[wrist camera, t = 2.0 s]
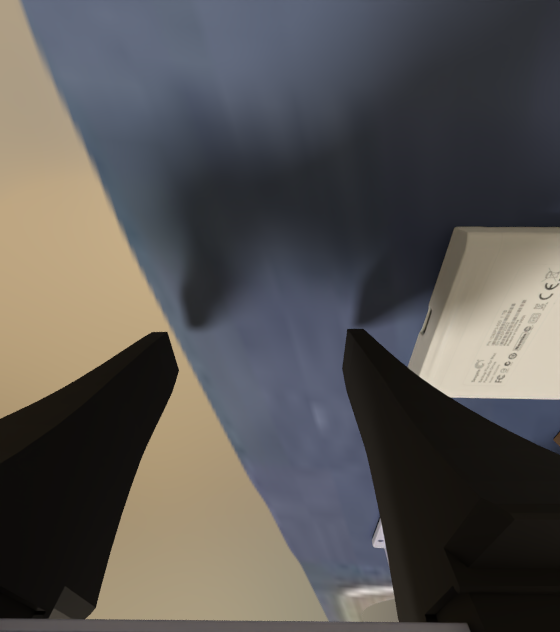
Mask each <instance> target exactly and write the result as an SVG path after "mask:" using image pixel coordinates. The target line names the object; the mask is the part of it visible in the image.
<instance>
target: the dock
mask: <svg viewBox="0 0 560 632" xmlns="http://www.w3.org/2000/svg"><path fill="white" fill-rule="evenodd" d="M554 441H555V442H556V443H557V444H558V445H559V446H560V432H559V433H558V435H557V436H556V437H555V438H554Z"/></svg>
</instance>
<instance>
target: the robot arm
mask: <svg viewBox="0 0 560 632" xmlns="http://www.w3.org/2000/svg"><path fill="white" fill-rule="evenodd" d="M342 369H343V374H344V380H345V385H346V390H347V394H348V397H349V400H350V403H351V406H352V409H353V412H354V415H355V418H356V421H357V424H358V428H359V431H360V434H361V437H362V440H363V443H364V446H365V450H366V453H367V457H368V462H369V466H370V471H371V475H372V480H373V484H374V489H375V494H376V499H377V503H378V508H379V513H380V520H379V523H378V526H377V528H376V531H375V534H374V537H373V539H372V544H373V546H374V547H376V548H385V552H386V556H387V560H388V564H389V568H390V573H391V578H392V584H393V590H394V596H395V602H396V608H397V614H398V620H399V622H314V621H311V622H310V621H208V620H206V621H205V620H105V619H86V618H87V617H88V616H89V615H90V614H91V613H92V612H93V610H94V609H95V608H96V604H97V600H98V597H99V593H100V589H101V584H102V581H103V578H104V574H105V570H106V567H107V563H108V559H109V555H110V552H111V548H112V545H113V542H114V539H115V535H116V532H117V529H118V525H119V522H120V519H121V515H122V512H123V509H124V506H125V503H126V500H127V497H128V494H129V491H130V488H131V486H132V483H133V480H134V477H135V474H136V472H137V469H138V466H139V463H140V460H141V458H142V455H143V453H144V451H145V449H146V446H147V444H148V442H149V440H150V438H151V436H152V434H153V432H154V429H155V427H156V425H157V423H158V421H159V419H160V417H161V415H162V413H163V411H164V409H165V406H166V404H167V402H168V400H169V398H170V396H171V394H172V391H173V388H174V385H175V382H176V379H177V375H178V371H179V369H178V366H177V363H176V359H175V356H174V353H173V350H172V346H171V343H170V339H169V336H168V333H167V332H152V333H150V334H148V335H147V336H145V337H143V338H142V339H140V340H139V341H137V342H135V343H134V344H133V345H131V346H129V347H128V348H126V349H125V350H123V351H122V352H120V353H119V354H117V355H116V356H114V357H113V358H111V359H110V360H108V361H106V362H105V363H103V364H102V365H101V366H99V367H97V368H95V369H94V370H92V371H90V372H89V373H87V374H86V375H84V376H82V377H81V378H79V379H77V380H76V381H74V382H72V383H71V384H69V385H67V386H65V387H63V388H62V389H60V390H58V391H56V392H54V393H53V394H50V395H49V396H47V397H45V398H43V399H41V400H39V401H37V402H35V403H33V404H31V405H29V406H27V407H25V408H22V409H20V410H19V411H16V412H14V413H12V414H10V415H7V416H5V417H3V418H1V419H0V632H560V455H559V454H556V453H554V452H552V451H550V450H547V449H545V448H543V447H541V446H539V445H537V444H535V443H532V442H530V441H528V440H526V439H524V438H522V437H520V436H518V435H516V434H514V433H512V432H510V431H508V430H506V429H504V428H502V427H501V426H499V425H497V424H495V423H493V422H491V421H489V420H487V419H486V418H484V417H482V416H480V415H479V414H477V413H475V412H473V411H472V410H470V409H468V408H466V407H465V406H463V405H461V404H460V403H458V402H456V401H455V400H453V399H452V398H450V397H448V396H447V395H445V394H444V393H442V392H441V391H439V390H438V389H436V388H435V387H433V386H432V385H430V384H429V383H428V382H426V381H425V380H423V379H422V378H421V377H419V376H418V375H417V374H415V373H414V372H413V371H411V370H410V369H409V368H408V367H406V366H405V365H404V364H403V363H401V362H400V361H399V360H398V359H397V358H395V357H394V356H393V355H392V354H391V353H390V352H388V351H387V350H386V349H385V348H384V347H383V346H382V345H381V344H379V343H378V342H377V341H376V340H375V339H374V338H373V337H372V336H371V335H370V334H368V333H367V332H366V331H365V330H364V329H347V336H346V344H345V352H344V360H343V367H342Z"/></svg>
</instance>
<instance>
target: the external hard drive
mask: <svg viewBox="0 0 560 632" xmlns="http://www.w3.org/2000/svg"><path fill="white" fill-rule="evenodd" d="M408 368H409V369H410V370H411V371H413V372H414V373H415V374H417V375H418V376H419V377H421V378H422V379H423V380H425V381H426V382H428V383H429V384H430V385H432V386H433V387H435V388H436V389H438V390H439V391H441V392H442V393H444V394H445V395H447V396H448V397H462V398H513V399H560V227H455V228H454V230H453V233H452V237H451V240H450V243H449V246H448V249H447V252H446V255H445V258H444V261H443V264H442V267H441V270H440V273H439V276H438V279H437V282H436V285H435V288H434V291H433V294H432V297H431V300H430V303H429V310H428V313H427V316H426V319H425V322H424V325H423V328H422V330H421V331H420V333H419V335H418V338H417V341H416V344H415V347H414V350H413V353H412V356H411V359H410V362H409V365H408Z"/></svg>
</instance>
